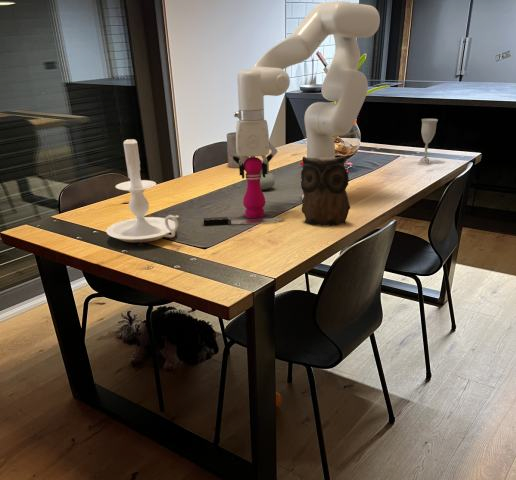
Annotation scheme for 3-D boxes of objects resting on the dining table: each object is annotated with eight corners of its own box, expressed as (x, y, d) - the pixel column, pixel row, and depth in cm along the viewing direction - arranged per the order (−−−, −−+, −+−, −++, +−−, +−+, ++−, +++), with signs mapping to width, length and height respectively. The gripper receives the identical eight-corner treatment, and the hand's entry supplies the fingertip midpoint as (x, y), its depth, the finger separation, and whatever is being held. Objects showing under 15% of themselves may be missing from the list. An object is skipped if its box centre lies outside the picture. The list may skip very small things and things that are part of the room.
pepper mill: (263, 219, 173) (261, 154, 162) (241, 218, 174) (238, 154, 164) (267, 212, 179) (266, 149, 169) (246, 212, 180) (243, 149, 170)
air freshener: (247, 186, 210) (246, 160, 205) (267, 184, 212) (266, 158, 207) (255, 193, 201) (254, 165, 196) (276, 190, 203) (276, 163, 198)
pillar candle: (236, 162, 249) (235, 128, 241) (253, 164, 244) (252, 129, 236) (223, 166, 242) (221, 131, 235) (240, 169, 237) (239, 133, 230)
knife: (282, 218, 173) (282, 212, 172) (283, 222, 169) (283, 216, 168) (204, 222, 171) (203, 217, 170) (203, 226, 168) (203, 220, 167)
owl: (350, 224, 165) (354, 156, 155) (315, 230, 161) (316, 161, 151) (329, 213, 175) (332, 149, 165) (295, 219, 171) (296, 154, 161)
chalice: (434, 165, 232) (440, 120, 223) (418, 165, 233) (423, 121, 224) (430, 161, 239) (435, 118, 230) (414, 162, 239) (419, 118, 230)
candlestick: (157, 257, 146) (143, 149, 131) (93, 242, 157) (74, 142, 143) (203, 235, 161) (194, 136, 146) (141, 223, 172) (128, 130, 158)
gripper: (223, 118, 157) (226, 181, 166) (281, 116, 158) (281, 178, 167) (222, 115, 164) (226, 175, 173) (278, 113, 165) (279, 173, 174)
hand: (253, 176), depth 170 cm, fingers closed on pepper mill, 6 cm apart
